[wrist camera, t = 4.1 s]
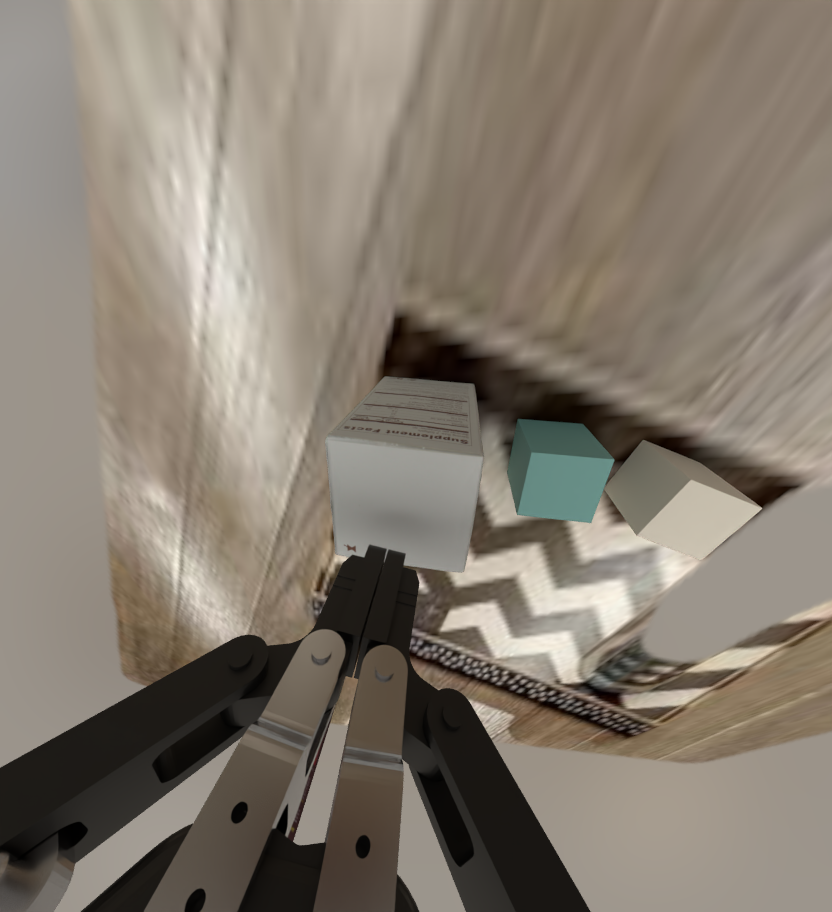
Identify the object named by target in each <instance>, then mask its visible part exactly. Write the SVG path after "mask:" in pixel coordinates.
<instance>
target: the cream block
mask: <svg viewBox="0 0 832 912" xmlns="http://www.w3.org/2000/svg"><path fill="white" fill-rule="evenodd" d="M604 490H605V491H606V493H607V494H608V496H609V497H610V498H611V500H612V501H613V503H614V504H615V506H616V507H617V508H618V510H619V511H620V513H621V514H622V515H623V517H624V518H625V520H626V521H627V523H628V524H629V525H630V527H631V528H632V530H633V531H634V533H635V534H636V535H637V536H639V537H642V538H644V539H647V540H649V541H652V542H654V543H657V544H660V545H662V546H665V547H667V548H670V549H672V550H675V551H678V552H680V553H683V554H685V555H688V556H690V557H693V558H696V559H698V560H702V559H703V558H705V557H706V556H707V555H708V554H709V553H710V552H712V551H713V550H714V549H715V548H716V547H718V546H719V545H720V544H721V543H722V542H723V541H725V540H726V539H727V538H728V537H729V536H730V535H732V534H733V533H734V532H735V531H736V530H738V529H739V528H740V527H741V526H742V525H743V524H745V523H746V522H747V521H748V520H749V519H751V518H752V517H753V516H754V515H755V514H756V513H758V512H759V511H760V510H761V509H762V508H761V507H760V506H759V505H757V504H756V503H755V502H753V501H752V500H750V499H749V498H748V497H746V496H745V495H744V494H742V493H741V492H739V491H738V490H737V489H735V488H734V487H733V486H731V485H730V484H729V483H727V482H726V481H724V480H723V479H722V478H720V477H719V476H718V475H716V474H715V473H713V472H712V471H711V470H709V469H708V468H707V467H705V466H704V465H702V464H701V463H700V462H697V461H695V460H692V459H690V458H687V457H685V456H682V455H680V454H677V453H675V452H672V451H670V450H667V449H665V448H662V447H660V446H657V445H655V444H653V443H650V442H648V441H645V440H642V442H641V443H640V444H639V445H638V447H637V448H636V449H635V450H634V451H633V453H632V454H631V455H630V456H629V458H628V459H627V460H626V461H625V463H624V464H623V465H622V466H621V467H620V469H619V470H618V471H617V472H616V474H615V475H614V476H613V477H612V478H611V480H610V481H609V482H608V483H607V485H606V486H605V487H604Z"/></svg>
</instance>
